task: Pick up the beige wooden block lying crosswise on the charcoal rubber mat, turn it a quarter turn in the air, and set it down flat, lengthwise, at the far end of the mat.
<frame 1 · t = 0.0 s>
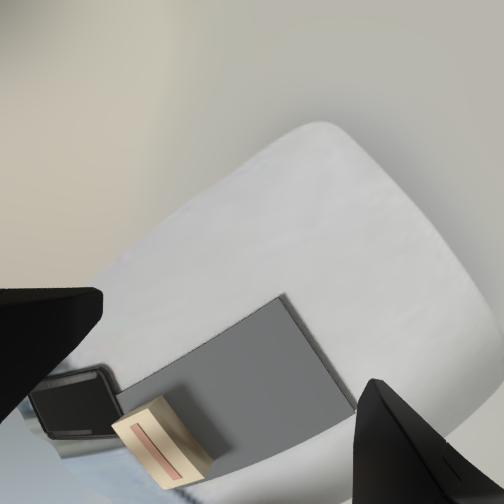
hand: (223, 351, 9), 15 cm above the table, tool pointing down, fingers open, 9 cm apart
mat: (219, 413, 24), on the table
phone: (76, 406, 27), on the table
beige wooden block: (168, 437, 24), resting on mat
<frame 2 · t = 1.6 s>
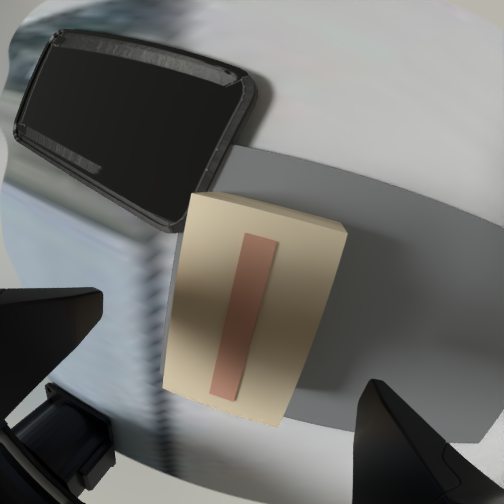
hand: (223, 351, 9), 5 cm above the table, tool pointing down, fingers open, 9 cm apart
mat: (385, 329, 13), on the table
phone: (110, 110, 14), on the table
beige wooden block: (256, 298, 13), resting on mat
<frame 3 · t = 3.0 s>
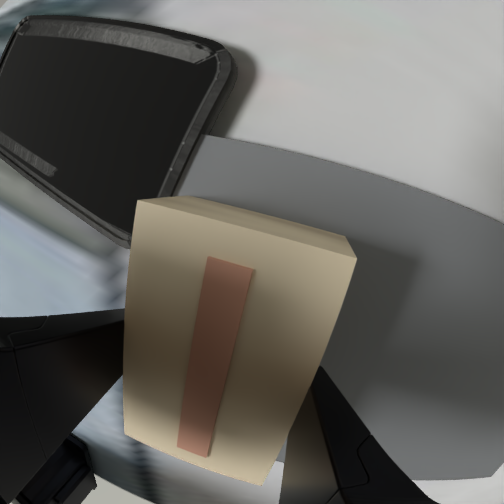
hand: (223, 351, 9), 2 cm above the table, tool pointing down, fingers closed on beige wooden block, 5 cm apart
mat: (397, 366, 10), on the table
phone: (71, 102, 11), on the table
beige wooden block: (236, 330, 10), resting on mat, touching gripper
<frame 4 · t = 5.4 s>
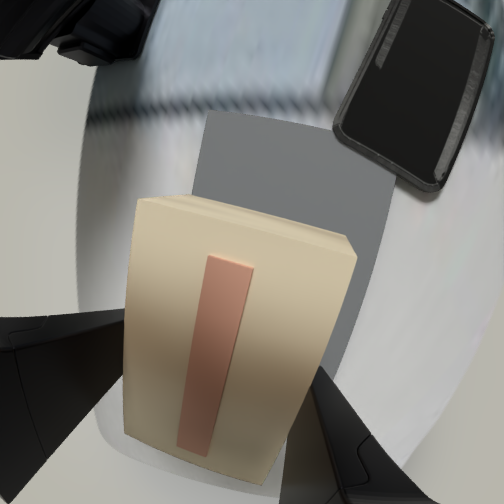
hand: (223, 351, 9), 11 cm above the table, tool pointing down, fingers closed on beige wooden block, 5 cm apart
mat: (270, 282, 20), on the table
phone: (422, 74, 15), on the table
beige wooden block: (236, 329, 10), point 10 cm above the table, touching gripper
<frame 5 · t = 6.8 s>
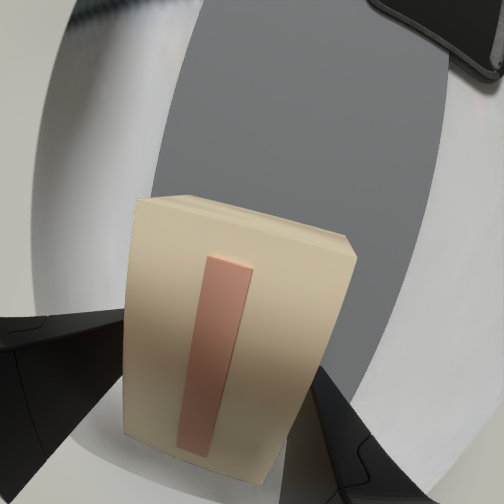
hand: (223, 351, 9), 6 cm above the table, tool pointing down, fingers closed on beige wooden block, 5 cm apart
mat: (286, 186, 13), on the table
beige wooden block: (235, 330, 10), point 4 cm above the table, touching gripper
when the fingers open (3 cm above the table, at t = 8.0 s): beige wooden block drops 1 cm, resting on mat.
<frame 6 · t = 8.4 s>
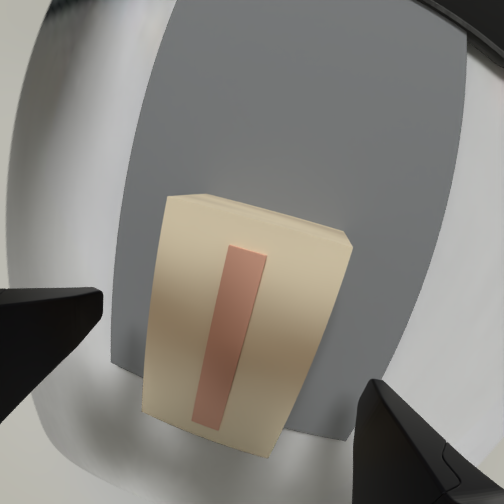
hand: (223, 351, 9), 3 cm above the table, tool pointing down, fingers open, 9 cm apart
mat: (279, 184, 11), on the table
beige wooden block: (246, 315, 12), resting on mat
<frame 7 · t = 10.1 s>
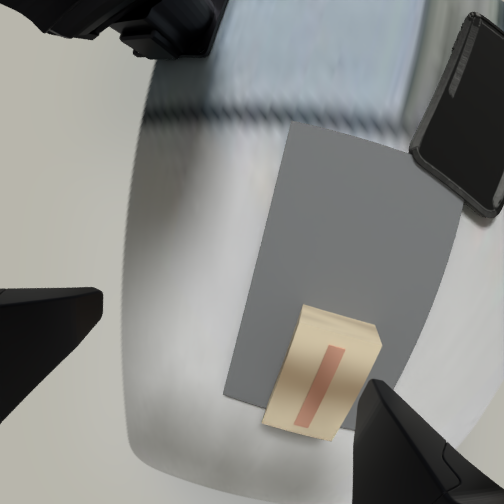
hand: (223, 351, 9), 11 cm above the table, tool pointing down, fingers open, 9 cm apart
mat: (343, 299, 19), on the table
phone: (483, 105, 15), on the table
beige wooden block: (319, 365, 20), resting on mat
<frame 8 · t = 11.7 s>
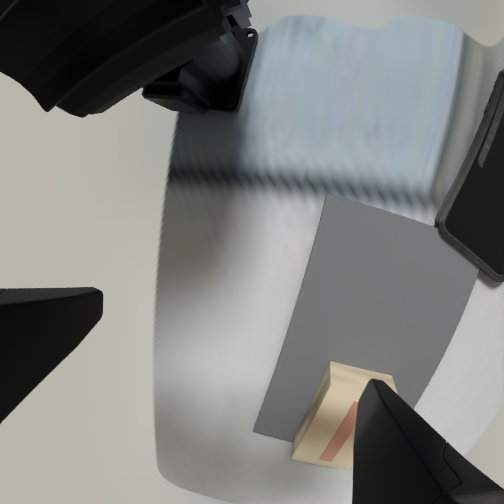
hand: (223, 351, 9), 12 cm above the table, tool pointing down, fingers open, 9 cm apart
mat: (365, 354, 20), on the table
beige wooden block: (341, 408, 21), resting on mat
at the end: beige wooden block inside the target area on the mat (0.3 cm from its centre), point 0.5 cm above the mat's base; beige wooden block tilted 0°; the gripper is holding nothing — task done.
